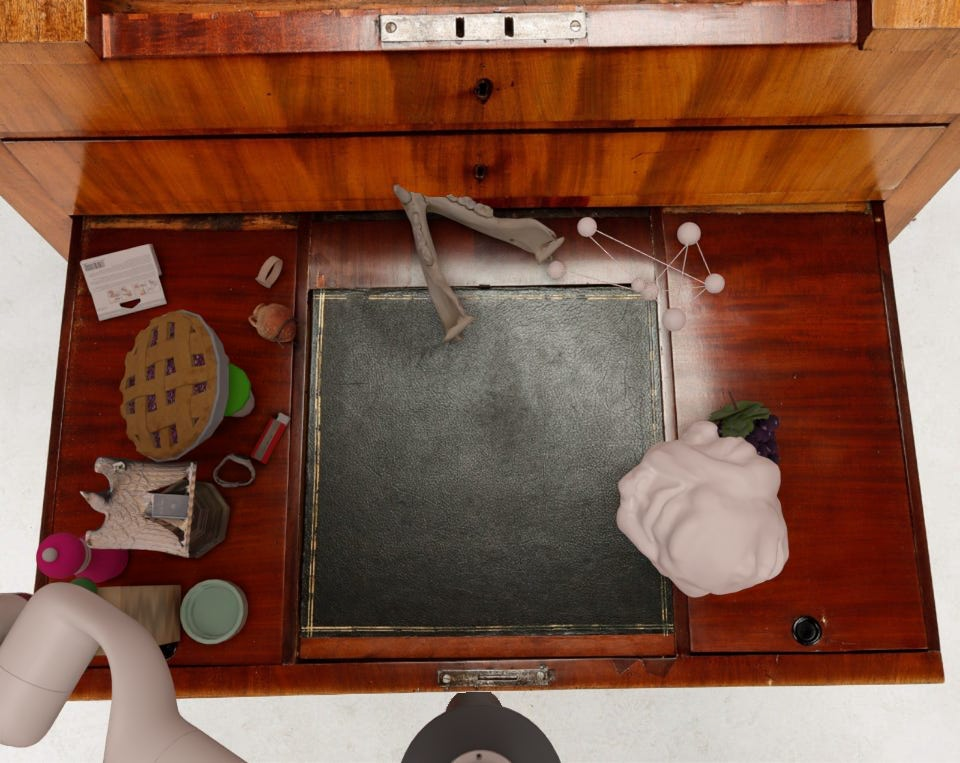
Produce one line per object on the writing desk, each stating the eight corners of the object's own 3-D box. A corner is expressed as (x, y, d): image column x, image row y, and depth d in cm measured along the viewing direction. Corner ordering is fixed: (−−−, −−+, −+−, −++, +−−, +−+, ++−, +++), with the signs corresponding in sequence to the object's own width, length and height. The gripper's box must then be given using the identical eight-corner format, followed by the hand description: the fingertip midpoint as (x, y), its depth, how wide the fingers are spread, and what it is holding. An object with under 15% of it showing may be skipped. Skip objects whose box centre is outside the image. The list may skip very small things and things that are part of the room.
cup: (260, 373, 139) (237, 349, 125) (269, 421, 138) (246, 403, 123) (211, 384, 139) (181, 361, 124) (219, 432, 137) (189, 415, 122)
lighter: (267, 464, 136) (292, 418, 138) (264, 463, 135) (290, 416, 137) (251, 457, 137) (276, 411, 138) (248, 455, 135) (274, 409, 137)
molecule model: (677, 246, 151) (705, 341, 145) (539, 253, 145) (562, 353, 139) (715, 199, 139) (748, 302, 133) (565, 205, 132) (592, 313, 126)
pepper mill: (139, 542, 133) (84, 536, 114) (120, 589, 132) (61, 591, 112) (94, 527, 134) (32, 518, 114) (75, 573, 132) (8, 573, 113)
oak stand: (180, 640, 131) (118, 654, 107) (125, 643, 130) (51, 658, 107) (181, 584, 132) (120, 586, 109) (127, 587, 132) (54, 589, 109)
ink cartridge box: (153, 243, 142) (171, 303, 143) (83, 260, 141) (102, 320, 143) (149, 243, 139) (167, 303, 141) (78, 260, 139) (97, 321, 140)
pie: (228, 292, 127) (200, 285, 123) (246, 439, 121) (216, 437, 117) (136, 342, 138) (107, 337, 134) (148, 479, 132) (118, 478, 128)
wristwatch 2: (254, 484, 133) (248, 451, 133) (213, 491, 133) (207, 458, 133) (259, 480, 137) (253, 448, 136) (219, 487, 137) (214, 455, 136)
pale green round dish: (248, 640, 131) (242, 642, 127) (187, 643, 130) (179, 645, 127) (248, 577, 133) (243, 577, 129) (188, 581, 132) (180, 581, 129)
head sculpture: (685, 650, 113) (562, 529, 129) (777, 625, 128) (656, 520, 144) (774, 498, 104) (630, 390, 121) (861, 491, 120) (723, 396, 136)
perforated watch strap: (259, 284, 143) (251, 274, 138) (275, 260, 144) (268, 249, 139) (273, 292, 142) (266, 282, 137) (289, 268, 143) (283, 257, 138)
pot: (316, 326, 140) (289, 356, 141) (280, 292, 141) (255, 322, 142) (302, 324, 134) (275, 355, 135) (265, 289, 135) (238, 320, 136)
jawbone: (458, 144, 146) (461, 107, 131) (563, 251, 145) (578, 226, 130) (347, 246, 144) (336, 221, 129) (453, 356, 143) (455, 344, 128)
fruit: (808, 470, 131) (776, 378, 129) (748, 500, 130) (714, 407, 127) (771, 459, 141) (740, 373, 139) (714, 487, 140) (682, 400, 137)
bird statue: (268, 476, 136) (203, 442, 102) (256, 563, 133) (184, 558, 99) (161, 466, 136) (59, 428, 102) (146, 553, 133) (36, 544, 99)
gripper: (-80, 674, 89) (10, 658, 106) (94, 664, 89) (155, 650, 107) (-74, 597, 90) (14, 594, 108) (97, 587, 91) (156, 586, 108)
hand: (83, 622), depth 107 cm, fingers open, 5 cm apart
